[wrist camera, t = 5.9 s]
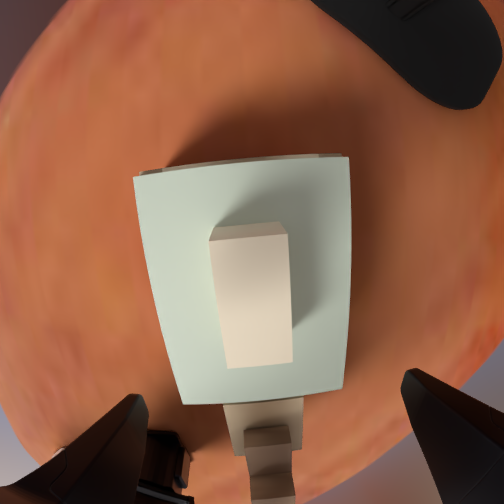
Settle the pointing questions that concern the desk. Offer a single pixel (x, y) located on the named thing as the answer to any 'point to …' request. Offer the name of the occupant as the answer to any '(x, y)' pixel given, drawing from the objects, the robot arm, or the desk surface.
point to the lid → (251, 275)
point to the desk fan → (428, 43)
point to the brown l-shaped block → (270, 465)
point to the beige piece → (263, 410)
